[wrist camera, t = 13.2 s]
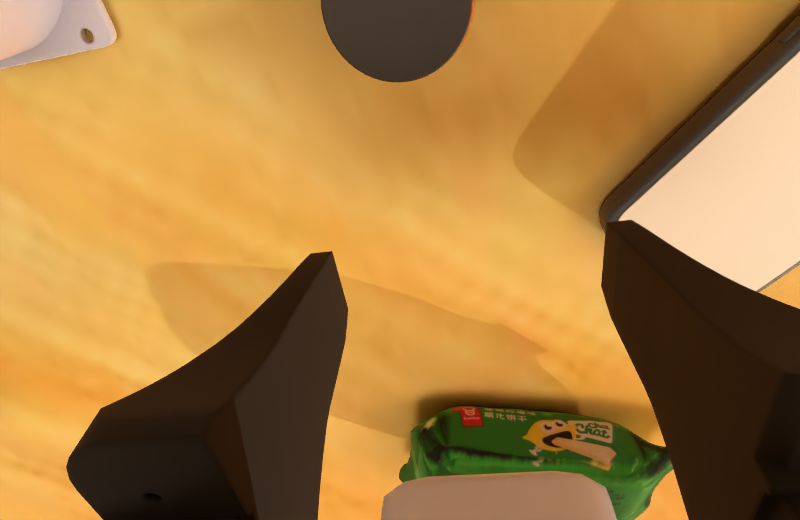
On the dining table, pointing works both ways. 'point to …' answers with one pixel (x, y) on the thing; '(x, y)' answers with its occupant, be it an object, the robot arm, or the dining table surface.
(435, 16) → the dark brown cylinder
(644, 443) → the snack package
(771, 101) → the phone case
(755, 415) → the robot arm
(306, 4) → the dining table surface
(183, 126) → the dining table surface
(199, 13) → the dining table surface
